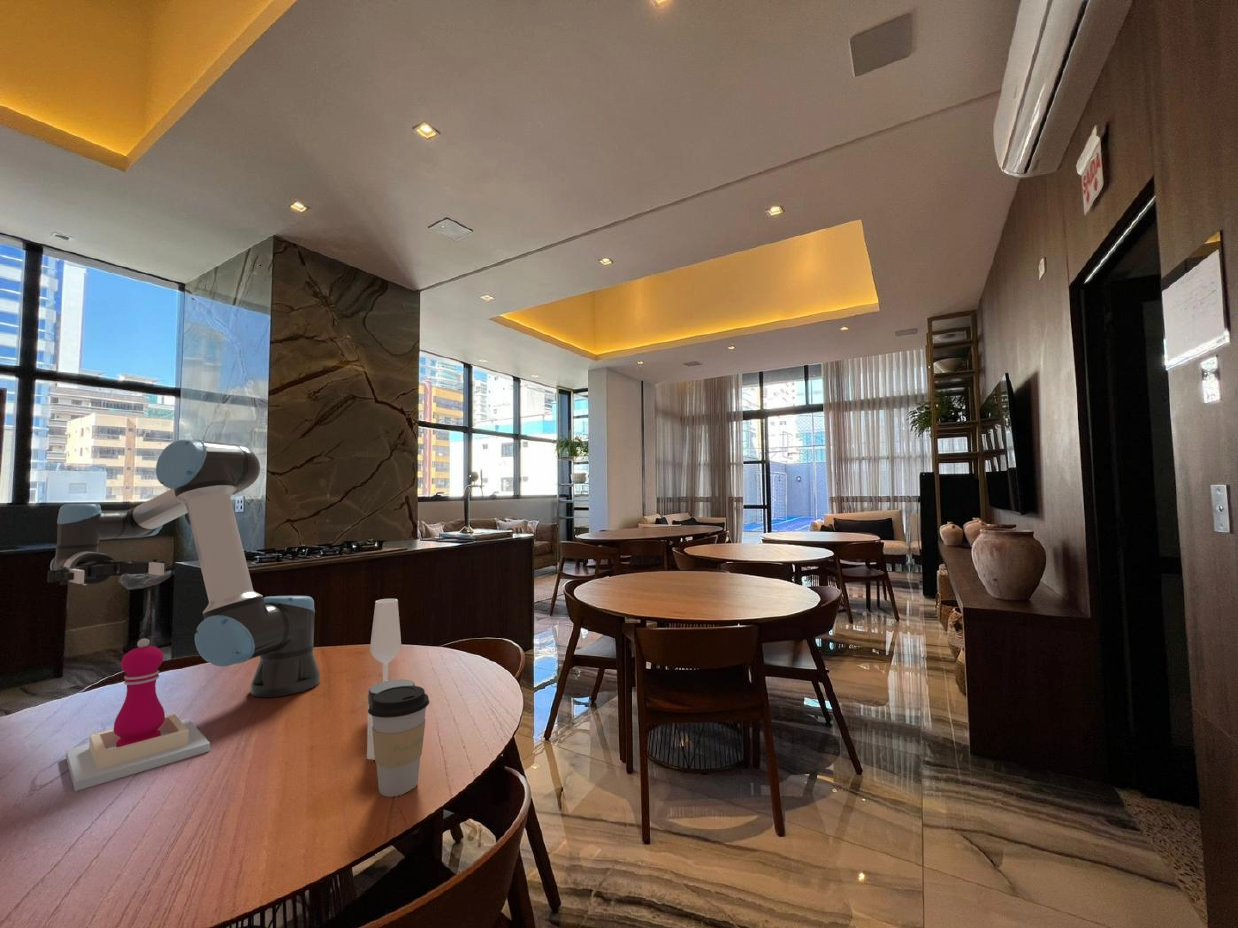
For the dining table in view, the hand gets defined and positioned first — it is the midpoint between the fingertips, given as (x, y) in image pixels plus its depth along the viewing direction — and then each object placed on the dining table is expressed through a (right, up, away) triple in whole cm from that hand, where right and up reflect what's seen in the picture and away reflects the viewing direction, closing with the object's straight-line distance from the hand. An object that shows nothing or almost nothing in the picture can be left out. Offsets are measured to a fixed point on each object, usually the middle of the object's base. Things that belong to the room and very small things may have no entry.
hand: (124, 573), depth 118 cm
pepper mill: (+20, -29, -18) cm, 40 cm away
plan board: (+20, -31, -18) cm, 41 cm away
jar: (+67, -30, -18) cm, 76 cm away
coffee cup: (+74, -29, -31) cm, 85 cm away
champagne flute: (+56, -32, +4) cm, 65 cm away
